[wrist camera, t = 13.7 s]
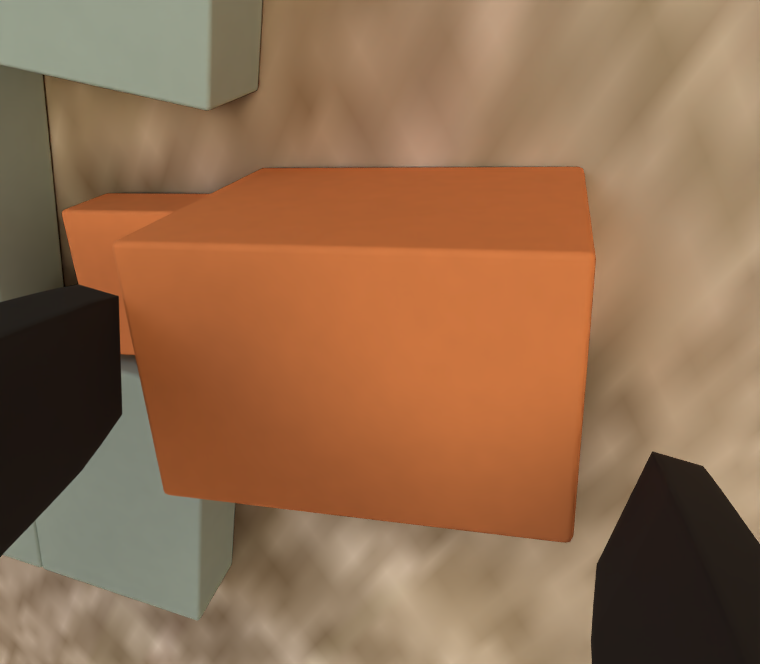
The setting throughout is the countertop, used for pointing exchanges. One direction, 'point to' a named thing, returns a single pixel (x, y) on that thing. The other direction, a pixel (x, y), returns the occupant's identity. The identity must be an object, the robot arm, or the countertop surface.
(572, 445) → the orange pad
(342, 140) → the countertop surface
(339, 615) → the countertop surface
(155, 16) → the grey tile
